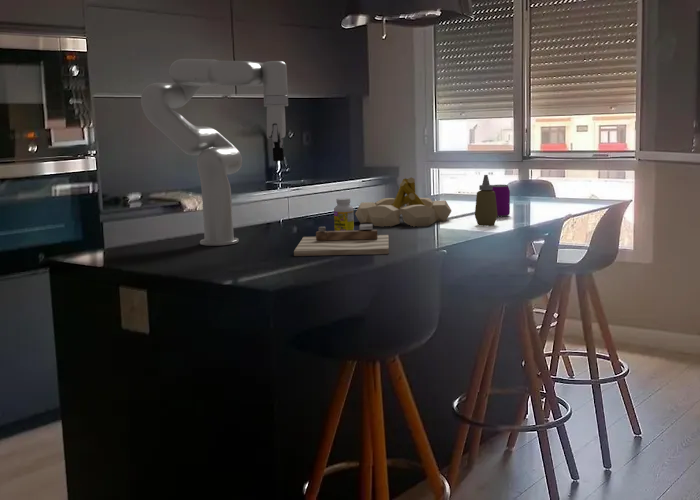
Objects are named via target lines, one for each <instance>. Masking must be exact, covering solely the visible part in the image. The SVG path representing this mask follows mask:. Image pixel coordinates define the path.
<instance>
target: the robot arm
mask: <svg viewBox="0 0 700 500" xmlns="http://www.w3.org/2000/svg"><path fill="white" fill-rule="evenodd" d="M287 68H288V67H287V63H285V61H282V60H270V61H264V62H260V61H259V62H258V61H249V60H247V61H246V60H218V59H213V58H211V59H209V58H208V59H206V58H202V59H201V58H180V59H176V60H175V61H173V62H172V63H171V65H170V66H169V73H168V74H169V77H170V79H171V80H172V82H154V83H150V84H148V85H146V86H145V87H144V88H143V90H142V92H141V96H140V104H141V109H142V112H143V114H144V115H145V118H147V120H148V121H149V122H150V124H152V125H153V126H154V127H155V128H156V129H158V130H159V132H161V133H162V134H163V135H165V136H166V137H167V139H169V140H170V141H171V142H172V143H173V144H174V145H175V146H177V147H178V148H179V150H180V151H182V152H183V153H184V154H186V155H188V156H198V157H197V159H196V160H197V161H196V162H197V163H196V166H197V171H198V175H199V179H200V187H201V200H202V201H201V202H202V217H203V219H202V220H203V234H204V238H203V239H201V240H199V244H200V245H201V246H206V247H207V246H209V247H211V246H212V247H214V246H216V247H217V246H218V247H219V246H228V245H234V244H237V243H239V238H238V237H236V236H235V235H234V221H233V219H234V218H233V203H232V202H233V201H232V200H233V199H232V188H231V183H230V181H229V178H228V175H233V174H235V173H237V172H239V170H240V169H241V168H242V166H243V157H242V154H241V152H240V150H239V149H238V148H237V147H236V146H235V145H233V143H231V142H230V141H229V140H228V139H227V138H225V137H224V135H222V134H221V133H220V132H219V131H218V130H216V129H215V128H213V127H211V126H207V125H198V126H197V125H194V124H193V123H191V122H190V121H188V119H186V118H185V117H184V116H183V115H182V114H180V113H179V112H177V111H175V110H174V109H179V108H182V107H184V106H185V105H186V104H187V103H188V102H190V100H191V99H192V98H193V97H195V95H196V94H197V93H198V92H199V91H200V90H201V88H202V87H217V86H234V87H236V86H238V87H262V89H263V107H265V108H266V138H267V139H269V140H270V139H272V160H273V162H283V161H285V153H284V139H283V138H285V137H286V134H287V133H286V132H287V131H286V127H287V126H286V124H287V123H286V108H285V107H288V106H289V94H288V91H289V90H288V88H289V87H288V69H287ZM234 236H235V237H234Z"/></svg>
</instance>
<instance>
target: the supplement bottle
mask: <svg viewBox="0 0 700 500" xmlns="http://www.w3.org/2000/svg"><path fill="white" fill-rule="evenodd" d="M350 203H351V198H348V197H339V198H336V205H335V207H334V209H333V222H334V223H333V225H334V227H333V229H334V230H333V231H347V230H355V224H354V223H355V222H354V221H355V219H354V217H355V216H354V215H355V213H354V206H351V204H350Z"/></svg>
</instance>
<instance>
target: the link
mask: <svg viewBox="0 0 700 500" xmlns="http://www.w3.org/2000/svg"><path fill="white" fill-rule="evenodd" d="M377 235H378V229H373V230H360V229H359V230H358V229H357V230H356V229H354V230H347V231H334V230H326V231H319V230H318V231H316V232H315V237H316V240H318V241H324V240H353V239H378V238H377Z"/></svg>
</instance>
